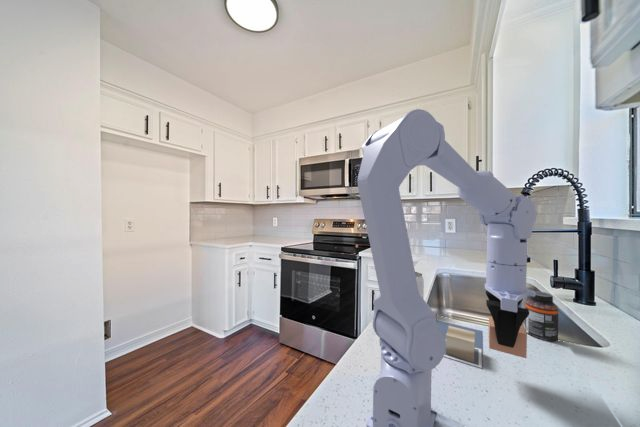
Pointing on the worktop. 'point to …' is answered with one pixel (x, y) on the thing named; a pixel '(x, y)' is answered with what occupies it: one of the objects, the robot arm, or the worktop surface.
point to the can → (420, 283)
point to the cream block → (460, 343)
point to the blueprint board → (478, 345)
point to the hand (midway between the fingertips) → (504, 338)
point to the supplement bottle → (542, 317)
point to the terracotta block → (518, 348)
